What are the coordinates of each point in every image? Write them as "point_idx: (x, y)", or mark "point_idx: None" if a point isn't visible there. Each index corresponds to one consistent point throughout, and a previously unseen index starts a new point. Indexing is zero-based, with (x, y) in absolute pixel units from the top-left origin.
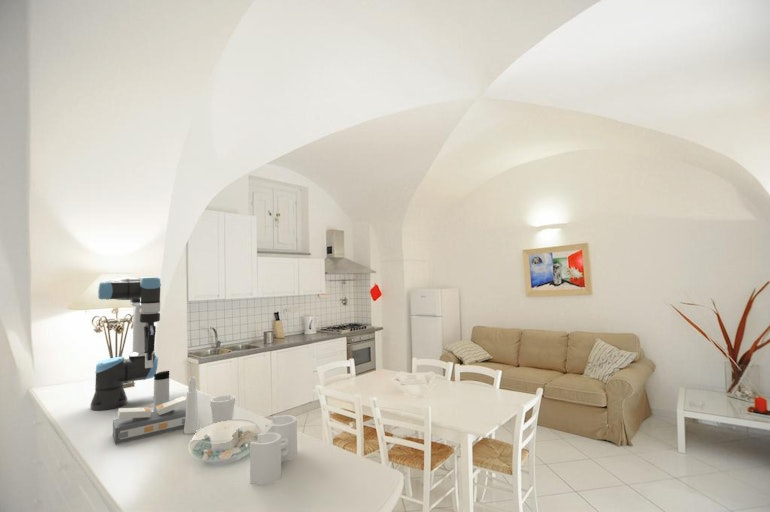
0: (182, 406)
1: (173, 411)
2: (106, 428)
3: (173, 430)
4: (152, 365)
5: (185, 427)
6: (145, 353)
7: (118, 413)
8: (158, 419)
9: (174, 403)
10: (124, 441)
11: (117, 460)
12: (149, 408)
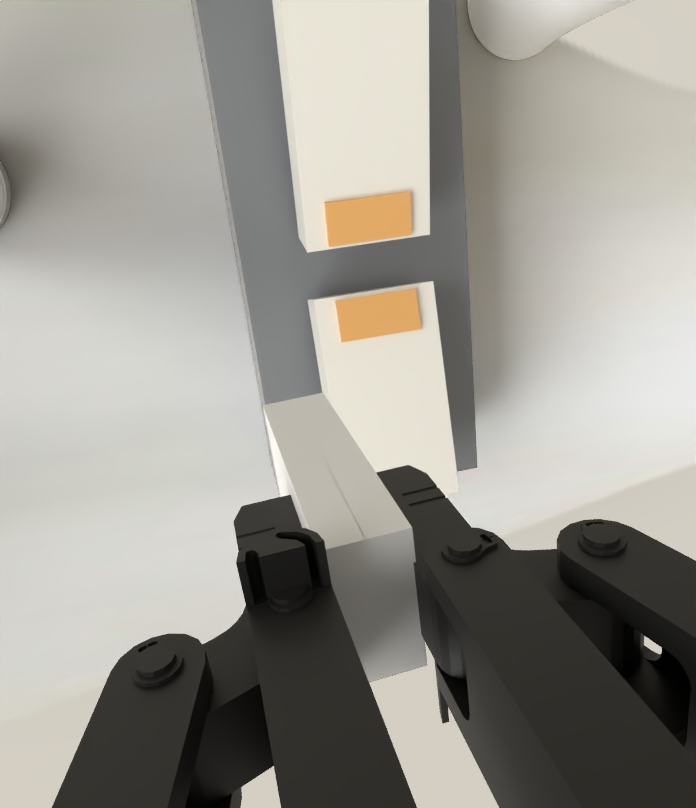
0: (224, 7)
1: None
2: (112, 517)
3: None
4: (329, 408)
5: (550, 42)
6: (377, 665)
7: None
8: (465, 225)
9: (423, 94)
10: None
11: (660, 392)
12: (375, 300)
